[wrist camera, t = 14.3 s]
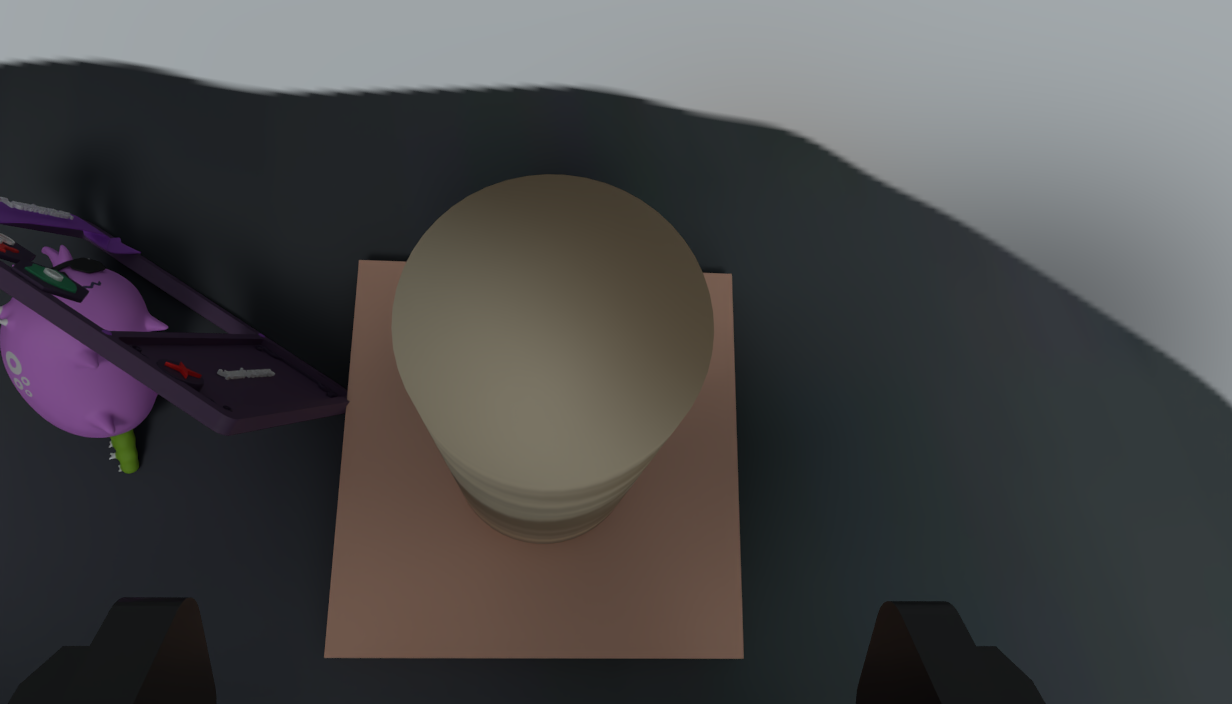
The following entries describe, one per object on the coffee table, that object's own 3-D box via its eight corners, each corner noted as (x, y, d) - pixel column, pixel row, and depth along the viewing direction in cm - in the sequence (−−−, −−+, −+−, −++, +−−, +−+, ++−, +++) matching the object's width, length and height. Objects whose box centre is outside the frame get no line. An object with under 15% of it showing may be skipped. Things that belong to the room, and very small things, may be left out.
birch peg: (551, 582, 23) (570, 552, 12) (416, 461, 23) (321, 331, 13) (668, 445, 24) (776, 309, 13) (537, 334, 24) (542, 117, 14)
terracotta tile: (736, 657, 23) (743, 658, 22) (331, 656, 22) (324, 658, 22) (725, 283, 26) (731, 273, 25) (364, 270, 25) (359, 260, 24)
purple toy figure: (251, 387, 17) (-120, 141, 18) (114, 615, 18) (-247, 366, 18) (377, 375, 24) (101, 196, 25) (275, 541, 24) (5, 360, 25)
